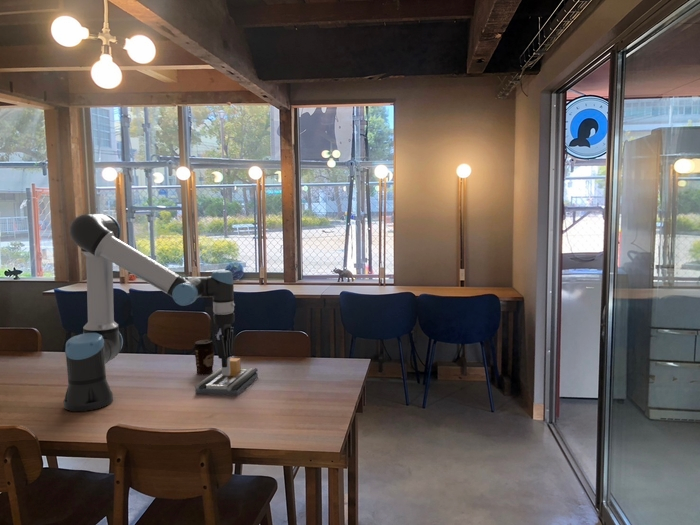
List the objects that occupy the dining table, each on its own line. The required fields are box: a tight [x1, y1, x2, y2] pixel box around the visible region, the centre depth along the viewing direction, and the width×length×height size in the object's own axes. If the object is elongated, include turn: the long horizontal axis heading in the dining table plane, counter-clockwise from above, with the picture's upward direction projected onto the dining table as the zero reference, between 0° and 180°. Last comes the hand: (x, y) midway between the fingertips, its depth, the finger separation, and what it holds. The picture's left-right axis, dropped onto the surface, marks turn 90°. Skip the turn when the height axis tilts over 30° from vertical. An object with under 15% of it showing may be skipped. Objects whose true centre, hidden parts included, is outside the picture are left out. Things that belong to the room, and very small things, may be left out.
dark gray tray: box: [194, 366, 258, 391], centre depth 199 cm, size 22×15×1 cm
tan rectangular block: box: [229, 357, 242, 376], centre depth 205 cm, size 4×4×6 cm
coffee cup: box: [192, 339, 216, 376], centre depth 214 cm, size 9×8×13 cm
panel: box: [194, 368, 258, 397], centre depth 199 cm, size 20×16×3 cm
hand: (226, 374), depth 199 cm, fingers closed
